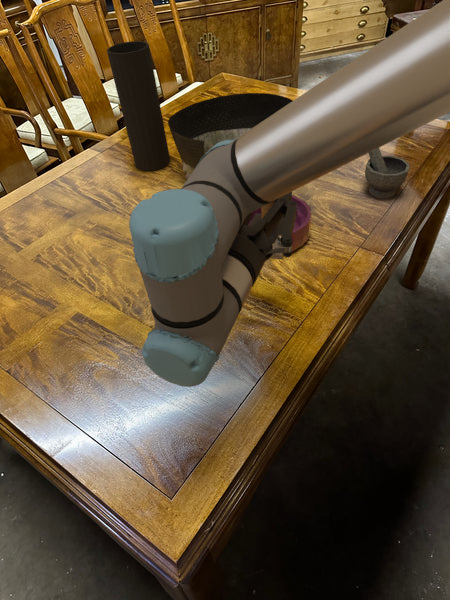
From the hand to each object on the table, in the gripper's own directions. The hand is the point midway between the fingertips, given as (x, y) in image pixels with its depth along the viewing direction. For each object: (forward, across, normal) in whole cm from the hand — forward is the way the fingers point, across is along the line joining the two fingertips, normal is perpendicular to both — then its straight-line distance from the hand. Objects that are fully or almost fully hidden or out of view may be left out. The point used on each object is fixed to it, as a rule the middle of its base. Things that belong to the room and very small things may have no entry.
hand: (279, 180), depth 67 cm
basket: (+39, -22, -22) cm, 50 cm away
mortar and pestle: (+38, +14, -22) cm, 47 cm away
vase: (+38, -50, -22) cm, 66 cm away
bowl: (+14, -6, -22) cm, 27 cm away
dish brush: (-5, 0, -10) cm, 11 cm away
